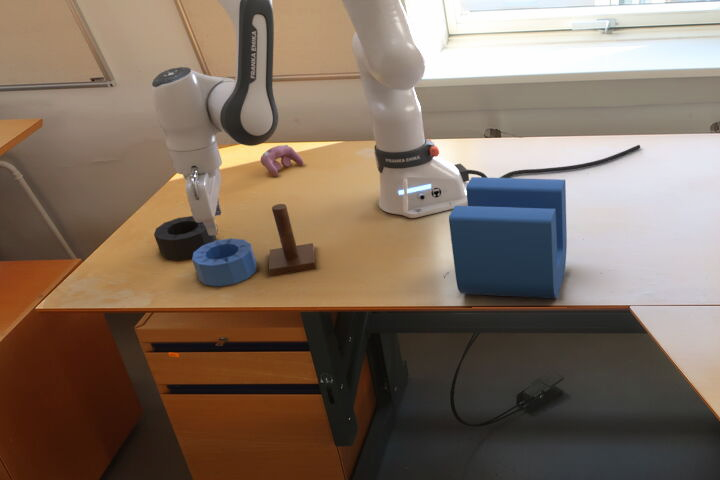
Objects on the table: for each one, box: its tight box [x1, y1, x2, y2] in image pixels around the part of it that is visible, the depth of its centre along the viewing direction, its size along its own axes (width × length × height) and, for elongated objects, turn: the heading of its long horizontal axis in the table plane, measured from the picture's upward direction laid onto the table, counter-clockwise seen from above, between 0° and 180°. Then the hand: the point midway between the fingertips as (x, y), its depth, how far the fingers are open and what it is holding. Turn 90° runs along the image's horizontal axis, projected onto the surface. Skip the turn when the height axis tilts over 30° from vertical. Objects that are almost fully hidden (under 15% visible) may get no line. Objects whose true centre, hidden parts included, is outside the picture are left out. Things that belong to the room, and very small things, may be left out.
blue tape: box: [191, 238, 258, 288], centre depth 158 cm, size 11×11×5 cm
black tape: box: [153, 215, 217, 261], centre depth 168 cm, size 11×11×5 cm
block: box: [448, 176, 568, 299], centre depth 146 cm, size 18×18×18 cm
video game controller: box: [260, 144, 304, 177], centre depth 202 cm, size 10×5×7 cm, turn 144°
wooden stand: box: [268, 203, 317, 277], centre depth 158 cm, size 9×9×12 cm
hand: (215, 223), depth 157 cm, fingers open, 8 cm apart
